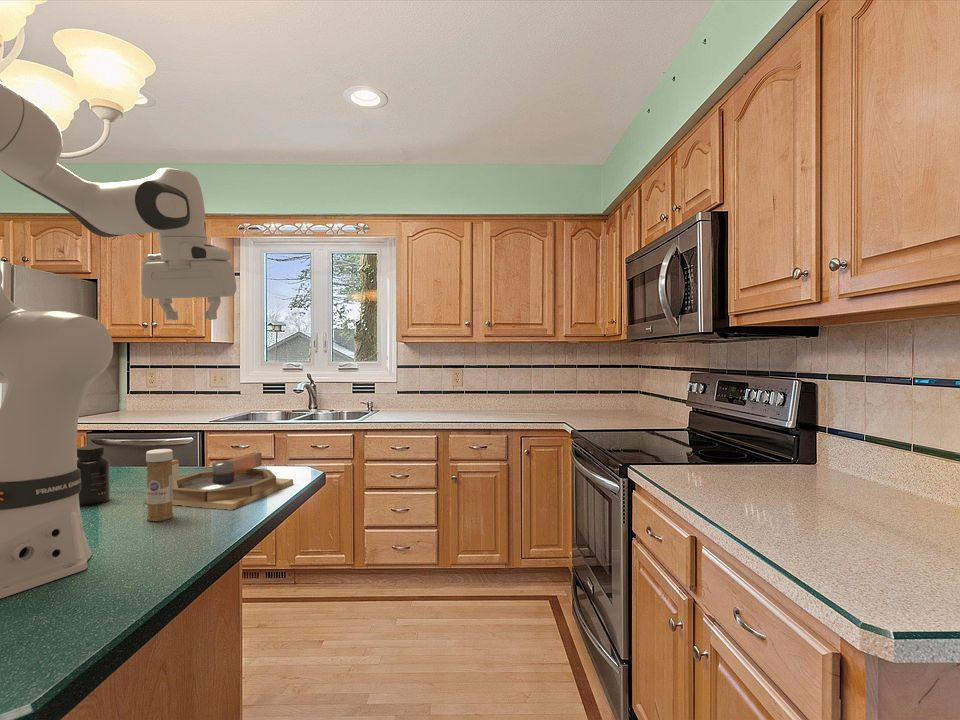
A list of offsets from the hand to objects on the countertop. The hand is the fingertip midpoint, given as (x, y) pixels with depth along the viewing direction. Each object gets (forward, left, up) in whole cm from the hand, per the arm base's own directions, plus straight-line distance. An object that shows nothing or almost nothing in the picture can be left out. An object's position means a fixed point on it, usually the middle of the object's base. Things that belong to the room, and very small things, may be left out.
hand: (191, 319), depth 115 cm
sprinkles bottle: (-8, +1, -40) cm, 40 cm away
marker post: (+11, +16, -39) cm, 44 cm away
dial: (+13, +2, -38) cm, 40 cm away
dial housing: (+11, +2, -39) cm, 41 cm away
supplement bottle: (-2, +25, -40) cm, 47 cm away
